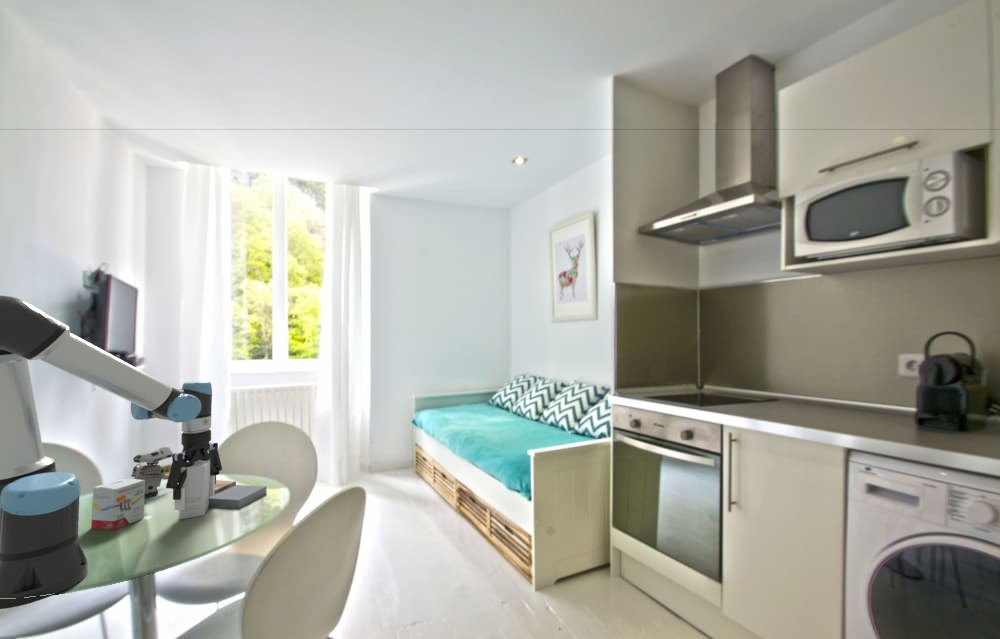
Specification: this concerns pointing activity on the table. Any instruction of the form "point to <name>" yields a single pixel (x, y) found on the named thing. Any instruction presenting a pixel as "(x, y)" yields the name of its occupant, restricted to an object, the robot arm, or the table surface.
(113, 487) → the ink box
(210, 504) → the slate slab
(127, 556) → the table surface
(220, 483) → the walnut stand
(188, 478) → the skincare box
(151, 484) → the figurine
